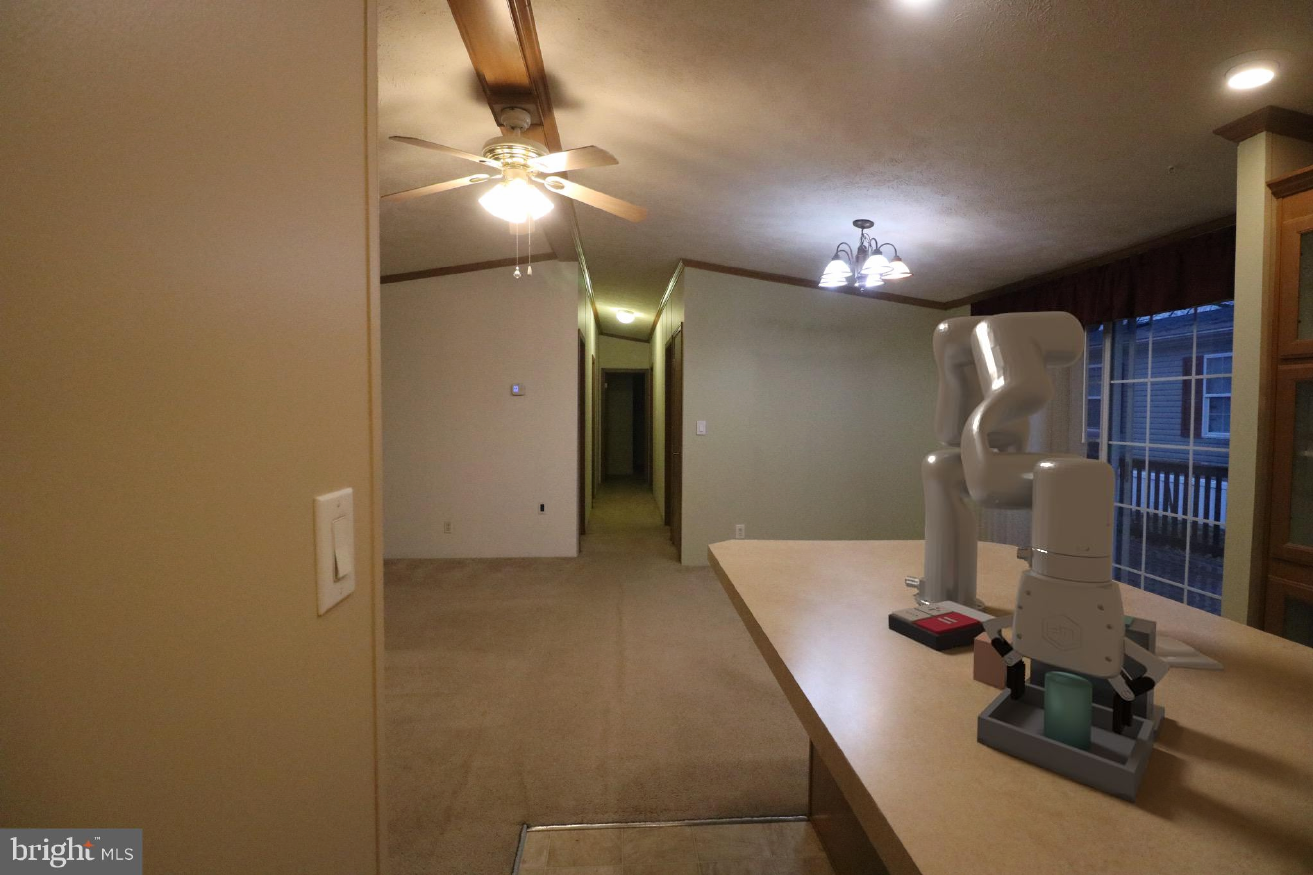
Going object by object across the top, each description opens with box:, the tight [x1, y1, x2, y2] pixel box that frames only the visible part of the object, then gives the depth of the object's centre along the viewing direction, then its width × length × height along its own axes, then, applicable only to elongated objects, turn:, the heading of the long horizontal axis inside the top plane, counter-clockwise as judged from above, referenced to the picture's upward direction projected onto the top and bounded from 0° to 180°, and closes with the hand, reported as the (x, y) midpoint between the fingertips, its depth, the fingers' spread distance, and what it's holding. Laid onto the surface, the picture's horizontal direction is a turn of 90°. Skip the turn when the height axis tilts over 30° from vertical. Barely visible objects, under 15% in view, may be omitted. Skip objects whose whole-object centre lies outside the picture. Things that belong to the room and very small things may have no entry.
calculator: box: [887, 601, 1003, 652], centre depth 98 cm, size 11×4×15 cm
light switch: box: [1155, 635, 1224, 670], centre depth 91 cm, size 11×4×13 cm
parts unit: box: [1025, 614, 1166, 742], centre depth 73 cm, size 14×8×12 cm, turn 42°
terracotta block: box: [972, 632, 1013, 690], centre depth 81 cm, size 4×4×6 cm
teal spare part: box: [1043, 672, 1092, 751], centre depth 64 cm, size 4×4×7 cm
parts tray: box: [976, 683, 1155, 804], centre depth 65 cm, size 14×14×3 cm
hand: (1065, 712), depth 65 cm, fingers open, 9 cm apart
